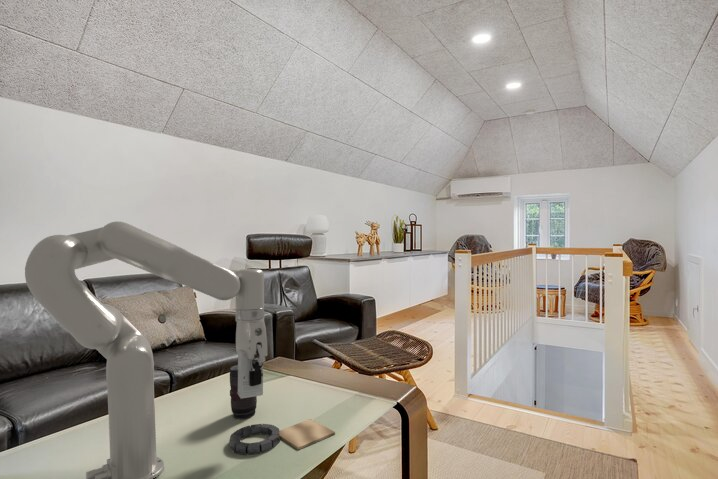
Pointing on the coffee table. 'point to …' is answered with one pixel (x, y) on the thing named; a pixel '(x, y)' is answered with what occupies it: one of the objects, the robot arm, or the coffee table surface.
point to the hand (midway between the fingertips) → (250, 381)
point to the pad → (305, 434)
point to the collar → (257, 446)
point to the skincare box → (247, 378)
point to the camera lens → (240, 406)
